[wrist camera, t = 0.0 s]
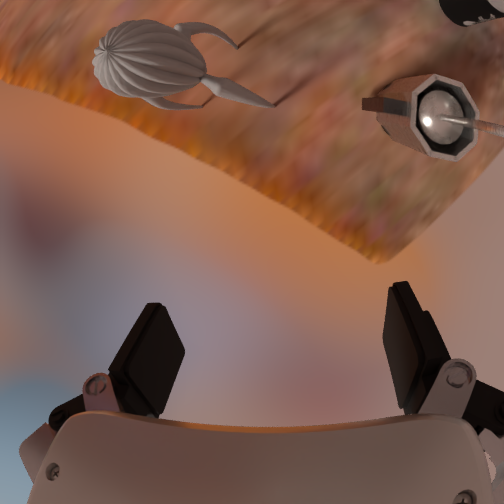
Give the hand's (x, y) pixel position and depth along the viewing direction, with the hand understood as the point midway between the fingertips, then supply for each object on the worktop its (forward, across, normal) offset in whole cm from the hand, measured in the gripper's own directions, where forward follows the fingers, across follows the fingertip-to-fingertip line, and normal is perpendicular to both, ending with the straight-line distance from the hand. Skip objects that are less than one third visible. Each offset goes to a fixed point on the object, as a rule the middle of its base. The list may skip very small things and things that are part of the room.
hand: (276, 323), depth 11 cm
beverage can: (+32, -31, -24) cm, 50 cm away
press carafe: (+31, -17, -6) cm, 36 cm away
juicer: (+32, +4, -13) cm, 35 cm away
